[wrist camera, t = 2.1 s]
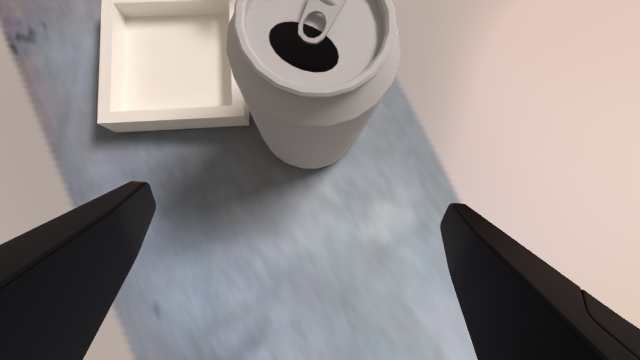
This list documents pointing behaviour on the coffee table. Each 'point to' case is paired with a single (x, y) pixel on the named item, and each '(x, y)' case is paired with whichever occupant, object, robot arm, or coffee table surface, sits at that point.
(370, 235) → the coffee table surface
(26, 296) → the robot arm
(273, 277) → the coffee table surface
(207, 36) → the tray
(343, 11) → the can
